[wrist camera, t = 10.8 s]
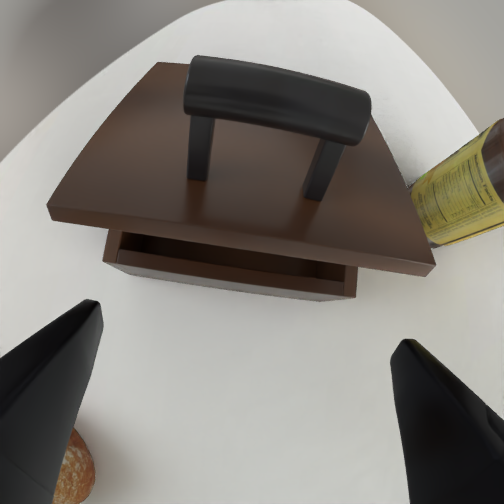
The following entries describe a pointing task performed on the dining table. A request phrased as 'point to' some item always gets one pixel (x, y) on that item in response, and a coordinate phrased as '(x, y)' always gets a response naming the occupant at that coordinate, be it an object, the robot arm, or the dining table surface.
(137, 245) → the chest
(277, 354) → the dining table surface
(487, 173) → the sauce bottle
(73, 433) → the bread roll
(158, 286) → the dining table surface
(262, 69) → the hatch
